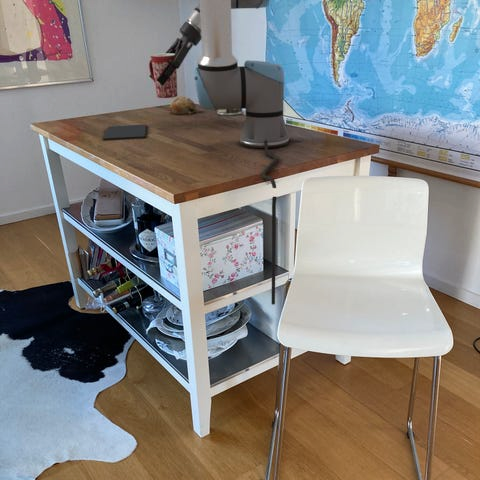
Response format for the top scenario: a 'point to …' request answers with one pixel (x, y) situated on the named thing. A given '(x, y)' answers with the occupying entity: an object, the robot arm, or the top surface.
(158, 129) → the top surface
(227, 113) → the coffee can
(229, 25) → the robot arm
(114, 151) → the top surface
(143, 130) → the mat
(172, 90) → the mug
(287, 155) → the top surface
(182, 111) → the bread roll
